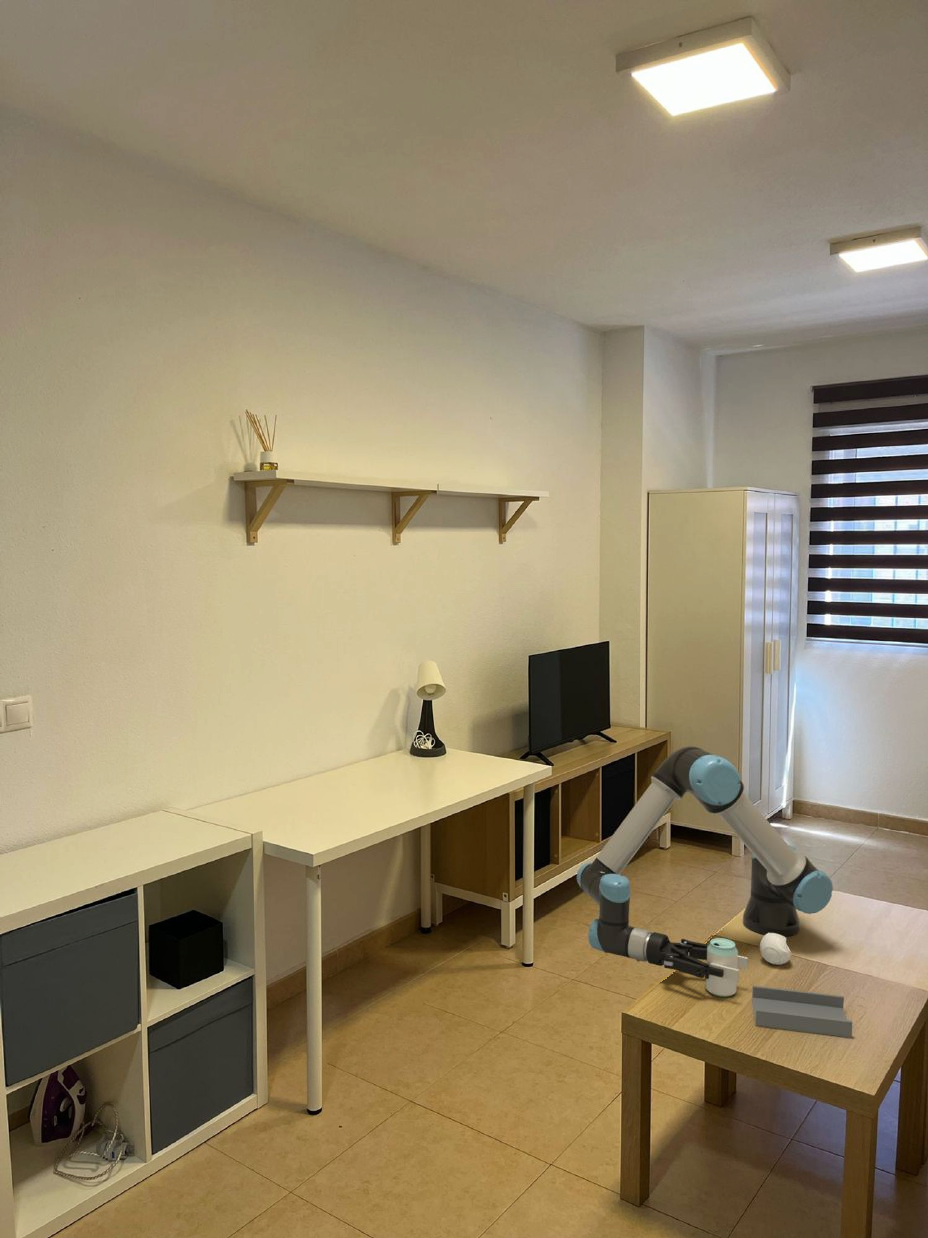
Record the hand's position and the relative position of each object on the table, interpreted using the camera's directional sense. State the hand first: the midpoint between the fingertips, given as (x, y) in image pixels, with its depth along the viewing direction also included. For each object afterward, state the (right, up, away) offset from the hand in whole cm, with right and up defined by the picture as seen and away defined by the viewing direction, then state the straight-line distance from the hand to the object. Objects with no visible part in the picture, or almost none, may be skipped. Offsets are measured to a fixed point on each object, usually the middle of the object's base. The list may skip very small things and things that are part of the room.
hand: (742, 969), depth 225 cm
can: (-4, -7, +3) cm, 8 cm away
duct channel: (+10, -8, -9) cm, 16 cm away
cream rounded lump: (+14, -6, +19) cm, 24 cm away
